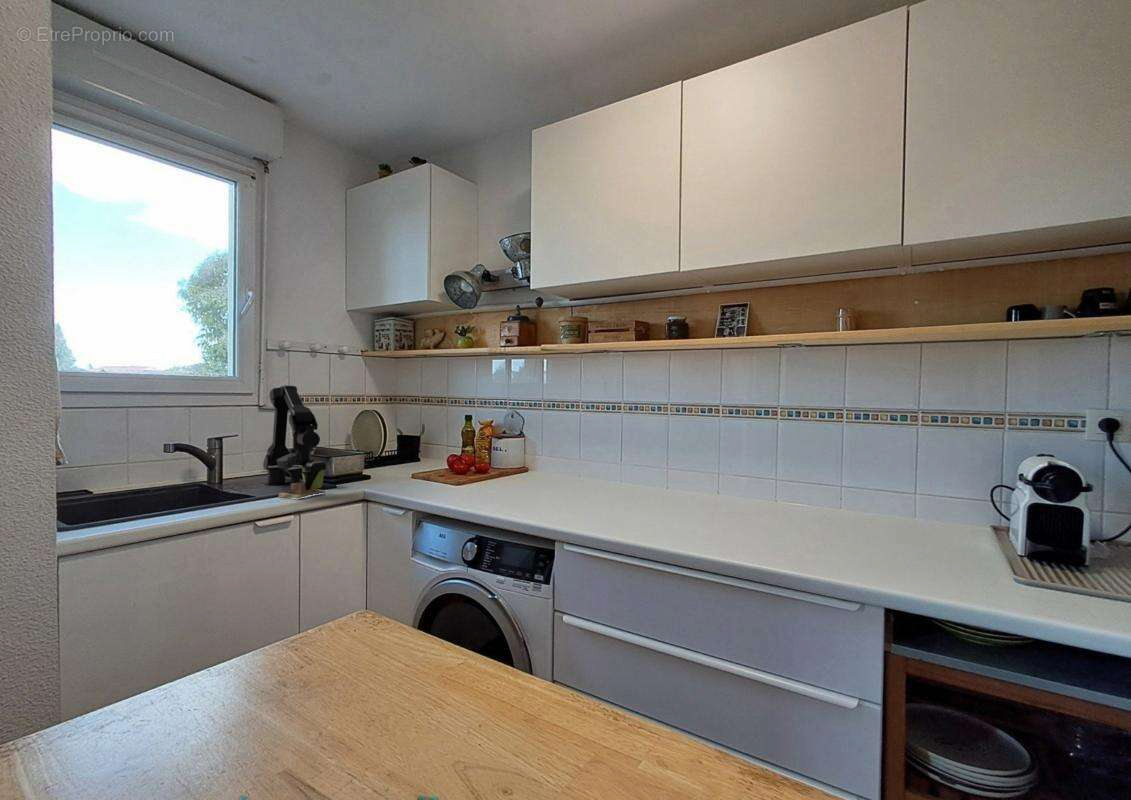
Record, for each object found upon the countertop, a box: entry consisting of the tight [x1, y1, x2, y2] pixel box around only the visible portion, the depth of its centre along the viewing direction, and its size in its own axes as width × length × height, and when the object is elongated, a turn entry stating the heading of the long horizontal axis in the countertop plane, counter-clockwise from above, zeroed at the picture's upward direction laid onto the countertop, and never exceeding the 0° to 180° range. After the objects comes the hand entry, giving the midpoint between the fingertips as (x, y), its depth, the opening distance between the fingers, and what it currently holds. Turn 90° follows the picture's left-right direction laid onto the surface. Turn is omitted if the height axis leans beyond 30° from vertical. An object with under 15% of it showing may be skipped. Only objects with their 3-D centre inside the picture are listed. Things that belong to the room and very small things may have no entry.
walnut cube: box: [290, 481, 313, 495], centre depth 184 cm, size 5×5×5 cm
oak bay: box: [278, 488, 326, 499], centre depth 184 cm, size 10×11×2 cm
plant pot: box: [298, 467, 326, 490], centre depth 198 cm, size 9×9×9 cm
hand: (302, 488), depth 184 cm, fingers open, 6 cm apart
